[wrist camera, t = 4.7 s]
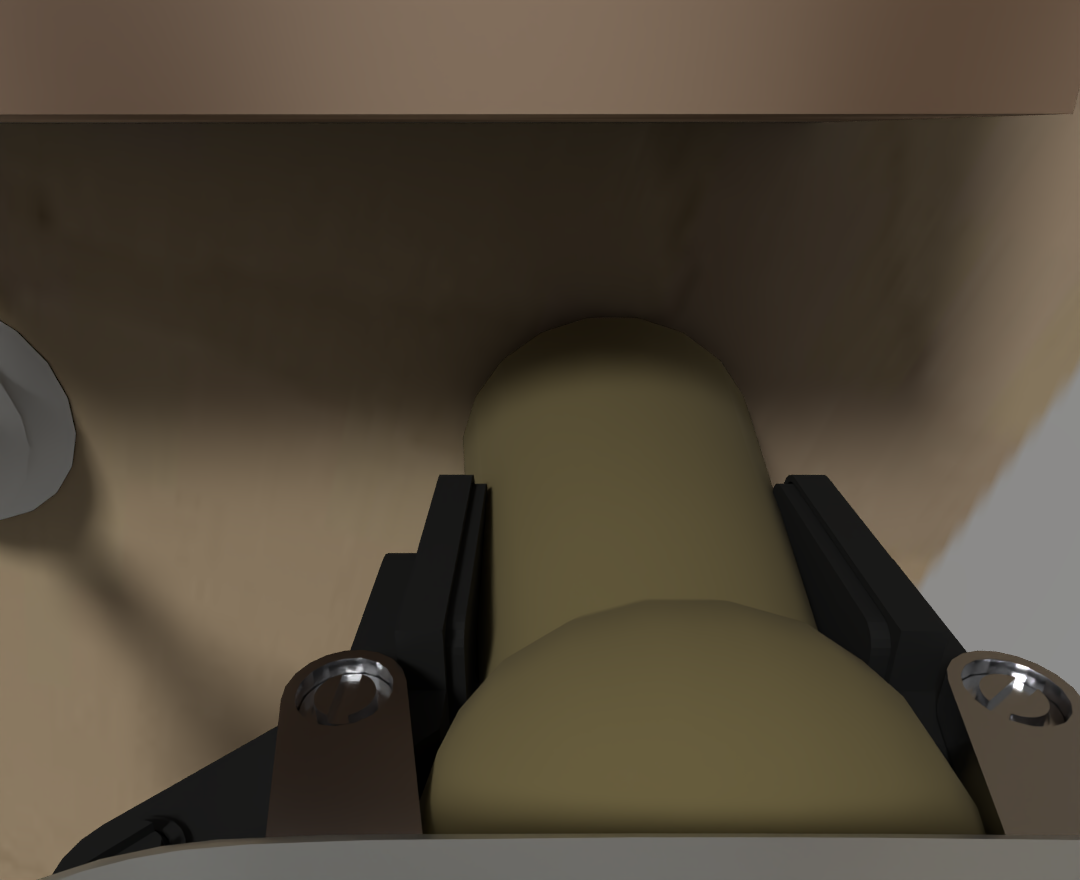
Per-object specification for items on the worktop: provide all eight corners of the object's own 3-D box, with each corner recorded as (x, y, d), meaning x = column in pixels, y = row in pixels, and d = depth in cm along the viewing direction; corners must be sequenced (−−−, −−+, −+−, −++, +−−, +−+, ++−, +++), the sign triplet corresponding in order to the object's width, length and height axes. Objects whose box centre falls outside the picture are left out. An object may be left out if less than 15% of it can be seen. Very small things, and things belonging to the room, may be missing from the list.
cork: (712, 597, 17) (967, 1314, 7) (447, 561, 16) (296, 1262, 6) (789, 341, 14) (1362, 861, 4) (481, 293, 14) (324, 736, 4)
